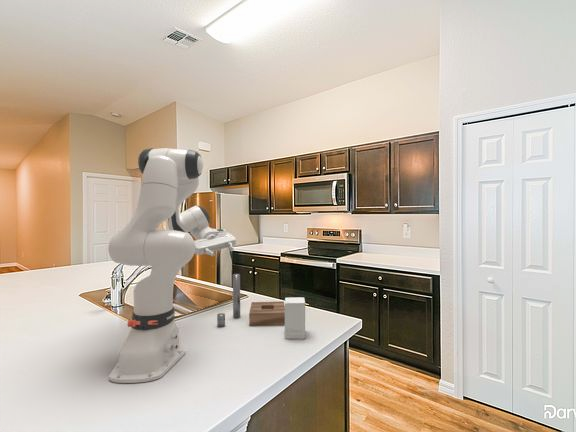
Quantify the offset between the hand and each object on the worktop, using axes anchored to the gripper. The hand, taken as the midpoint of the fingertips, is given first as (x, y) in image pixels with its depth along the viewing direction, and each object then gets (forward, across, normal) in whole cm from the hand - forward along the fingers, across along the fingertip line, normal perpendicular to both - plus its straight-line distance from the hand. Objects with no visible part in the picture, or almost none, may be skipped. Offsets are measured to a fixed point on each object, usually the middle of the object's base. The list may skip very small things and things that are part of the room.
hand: (223, 252), depth 133 cm
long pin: (+20, -4, +20) cm, 29 cm away
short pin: (+24, -13, +17) cm, 32 cm away
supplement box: (+48, +3, +9) cm, 49 cm away
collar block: (+30, +5, +17) cm, 35 cm away
